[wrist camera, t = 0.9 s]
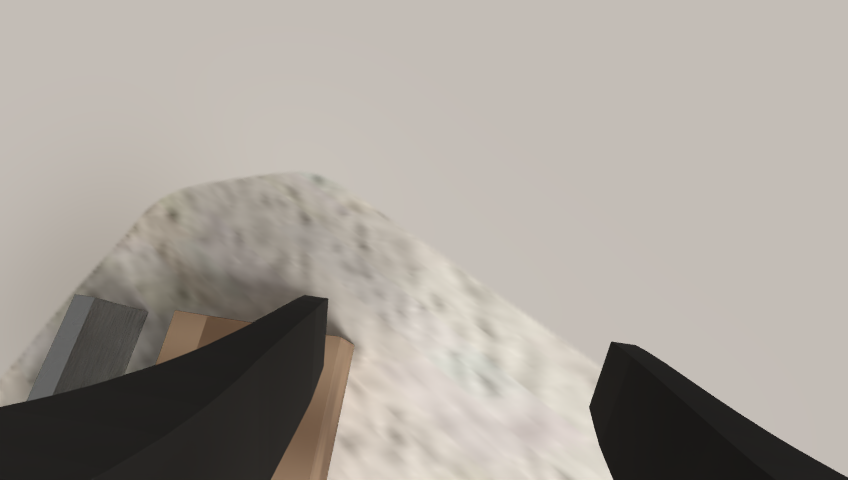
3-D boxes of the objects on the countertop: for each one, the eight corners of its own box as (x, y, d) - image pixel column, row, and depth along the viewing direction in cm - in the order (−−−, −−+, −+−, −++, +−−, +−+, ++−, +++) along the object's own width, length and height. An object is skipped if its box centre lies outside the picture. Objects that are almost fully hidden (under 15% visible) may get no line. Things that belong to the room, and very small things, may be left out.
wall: (50, 564, 19) (-40, 607, 15) (30, 559, 19) (-65, 601, 16) (147, 312, 23) (94, 297, 20) (131, 309, 23) (74, 294, 20)
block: (319, 511, 20) (295, 540, 16) (163, 483, 20) (104, 504, 17) (354, 345, 23) (340, 337, 19) (215, 322, 23) (175, 310, 19)
